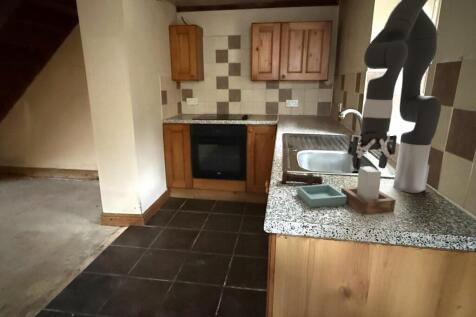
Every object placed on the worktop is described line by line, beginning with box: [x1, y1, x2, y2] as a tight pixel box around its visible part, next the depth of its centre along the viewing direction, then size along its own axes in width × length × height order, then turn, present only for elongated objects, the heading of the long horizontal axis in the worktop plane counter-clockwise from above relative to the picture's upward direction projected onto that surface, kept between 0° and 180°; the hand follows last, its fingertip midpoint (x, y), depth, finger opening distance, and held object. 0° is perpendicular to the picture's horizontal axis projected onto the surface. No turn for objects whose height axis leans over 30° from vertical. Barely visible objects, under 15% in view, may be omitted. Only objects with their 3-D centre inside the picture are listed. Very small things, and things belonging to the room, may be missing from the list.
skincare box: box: [356, 166, 382, 200], centre depth 87 cm, size 6×4×12 cm
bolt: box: [281, 169, 324, 186], centre depth 107 cm, size 6×5×15 cm
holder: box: [340, 186, 397, 216], centre depth 88 cm, size 10×12×4 cm
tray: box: [296, 183, 347, 209], centre depth 93 cm, size 12×11×3 cm
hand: (369, 168), depth 85 cm, fingers open, 8 cm apart
